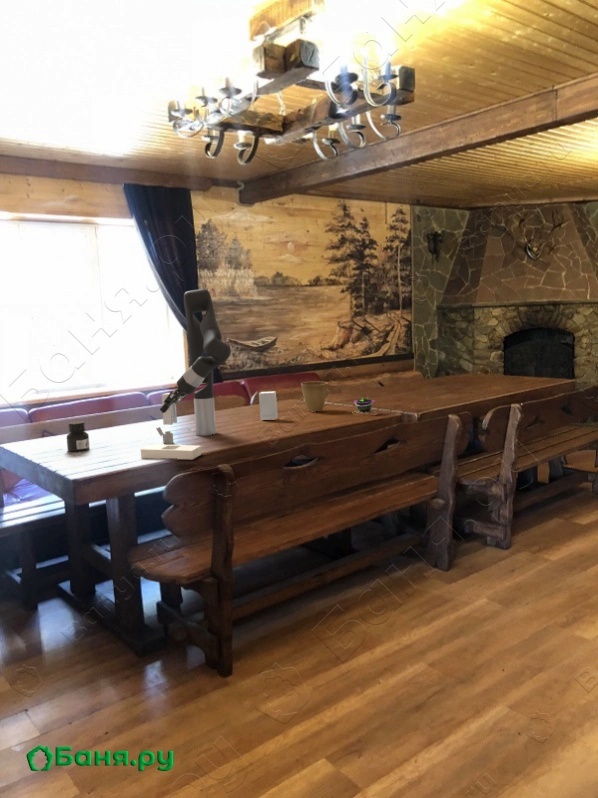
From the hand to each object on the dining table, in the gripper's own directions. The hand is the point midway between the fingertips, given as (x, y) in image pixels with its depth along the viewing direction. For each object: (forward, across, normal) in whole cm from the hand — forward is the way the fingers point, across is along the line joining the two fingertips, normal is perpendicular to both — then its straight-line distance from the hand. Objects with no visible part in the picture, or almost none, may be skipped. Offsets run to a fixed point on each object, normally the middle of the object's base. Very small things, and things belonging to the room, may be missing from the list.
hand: (165, 410), depth 251 cm
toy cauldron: (-32, -107, +58) cm, 126 cm away
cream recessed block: (+12, 0, +14) cm, 19 cm away
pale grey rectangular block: (+2, 0, +5) cm, 6 cm away
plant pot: (-12, -112, +37) cm, 119 cm away
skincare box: (+1, -84, +25) cm, 87 cm away
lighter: (+22, -23, +4) cm, 32 cm away
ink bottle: (+44, -6, -18) cm, 48 cm away
